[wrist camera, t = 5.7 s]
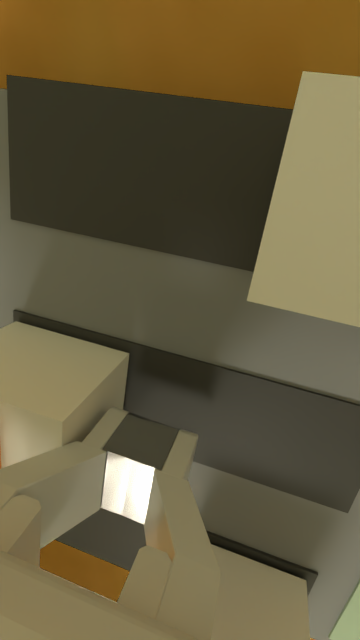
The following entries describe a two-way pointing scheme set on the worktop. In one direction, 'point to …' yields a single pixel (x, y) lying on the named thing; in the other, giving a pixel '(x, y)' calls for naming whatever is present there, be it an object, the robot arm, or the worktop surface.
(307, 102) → the block
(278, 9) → the worktop surface
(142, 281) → the panel
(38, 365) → the breaker
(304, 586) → the block
